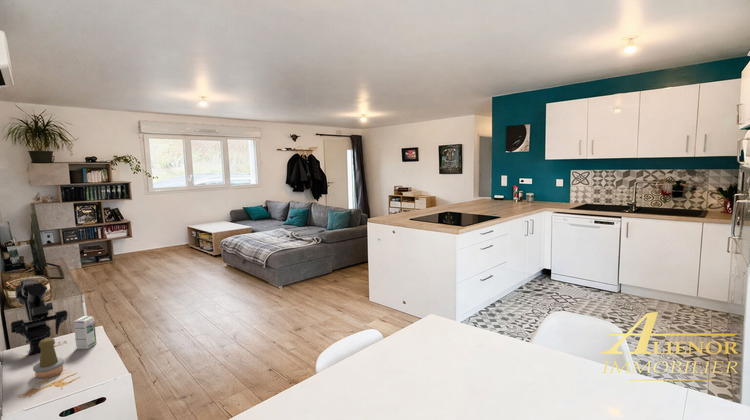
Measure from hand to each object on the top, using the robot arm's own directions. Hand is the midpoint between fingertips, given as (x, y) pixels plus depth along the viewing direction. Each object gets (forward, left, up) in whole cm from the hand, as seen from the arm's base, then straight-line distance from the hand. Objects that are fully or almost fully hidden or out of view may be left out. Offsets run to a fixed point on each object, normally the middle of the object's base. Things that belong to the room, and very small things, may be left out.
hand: (43, 337), depth 161 cm
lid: (+8, +1, -10) cm, 13 cm away
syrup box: (-12, +14, -14) cm, 23 cm away
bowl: (+8, +1, -13) cm, 15 cm away
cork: (+8, +1, -9) cm, 12 cm away
